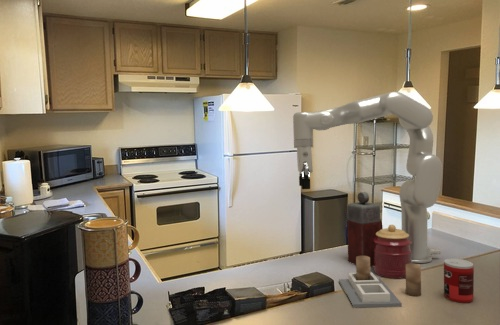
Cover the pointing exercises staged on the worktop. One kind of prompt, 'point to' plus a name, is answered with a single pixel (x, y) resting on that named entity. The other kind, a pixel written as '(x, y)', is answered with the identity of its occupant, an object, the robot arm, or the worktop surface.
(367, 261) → the fitted peg
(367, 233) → the red square jar
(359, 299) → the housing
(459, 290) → the canned food
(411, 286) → the loose peg
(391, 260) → the canister
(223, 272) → the worktop surface
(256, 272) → the worktop surface
